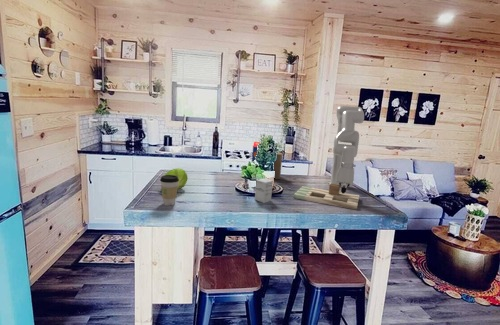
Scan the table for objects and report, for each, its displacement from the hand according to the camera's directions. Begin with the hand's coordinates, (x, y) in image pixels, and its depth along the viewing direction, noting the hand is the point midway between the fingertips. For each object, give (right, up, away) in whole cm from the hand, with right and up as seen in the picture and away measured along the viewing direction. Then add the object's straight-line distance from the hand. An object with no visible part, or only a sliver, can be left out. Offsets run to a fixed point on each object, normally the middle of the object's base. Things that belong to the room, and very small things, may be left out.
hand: (343, 193), depth 196 cm
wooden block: (-42, +8, +45) cm, 62 cm away
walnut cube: (-6, -1, +2) cm, 6 cm away
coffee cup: (-105, -3, -31) cm, 109 cm away
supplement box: (-53, -3, -14) cm, 55 cm away
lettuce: (-108, +3, -5) cm, 108 cm away
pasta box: (-56, +6, +30) cm, 64 cm away
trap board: (-11, -3, -1) cm, 11 cm away
